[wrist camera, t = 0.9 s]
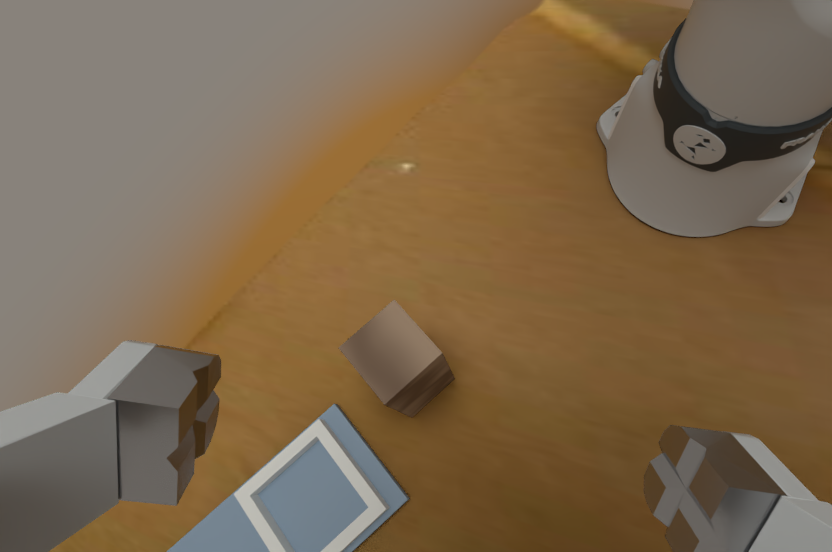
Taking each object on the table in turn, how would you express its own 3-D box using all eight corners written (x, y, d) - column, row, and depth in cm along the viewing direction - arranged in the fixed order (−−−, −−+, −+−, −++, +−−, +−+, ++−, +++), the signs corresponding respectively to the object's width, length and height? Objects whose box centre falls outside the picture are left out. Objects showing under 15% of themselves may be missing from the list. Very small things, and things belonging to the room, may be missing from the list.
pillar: (417, 337, 46) (394, 299, 35) (454, 378, 45) (442, 352, 33) (376, 374, 46) (338, 347, 34) (411, 417, 44) (384, 404, 33)
